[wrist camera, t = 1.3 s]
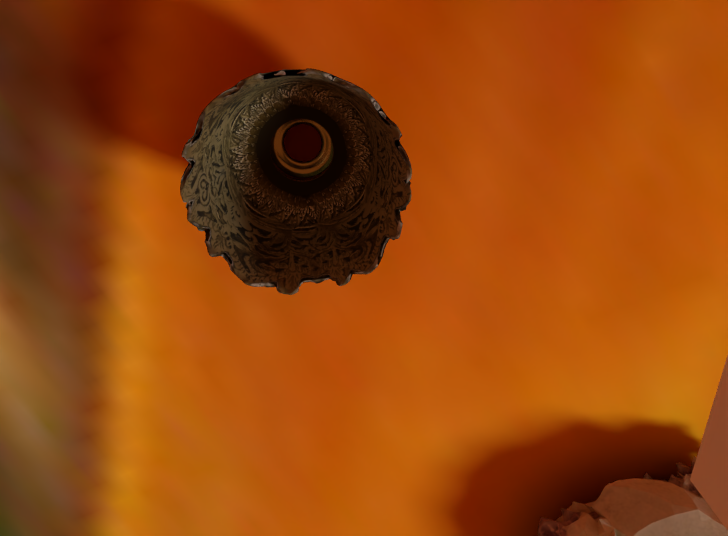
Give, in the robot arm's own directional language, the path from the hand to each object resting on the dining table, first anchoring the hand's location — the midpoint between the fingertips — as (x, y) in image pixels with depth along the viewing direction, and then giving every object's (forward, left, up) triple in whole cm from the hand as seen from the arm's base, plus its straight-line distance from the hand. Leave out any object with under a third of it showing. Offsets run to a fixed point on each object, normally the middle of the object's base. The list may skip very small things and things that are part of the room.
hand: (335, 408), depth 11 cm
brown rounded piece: (-1, +1, -19) cm, 19 cm away
